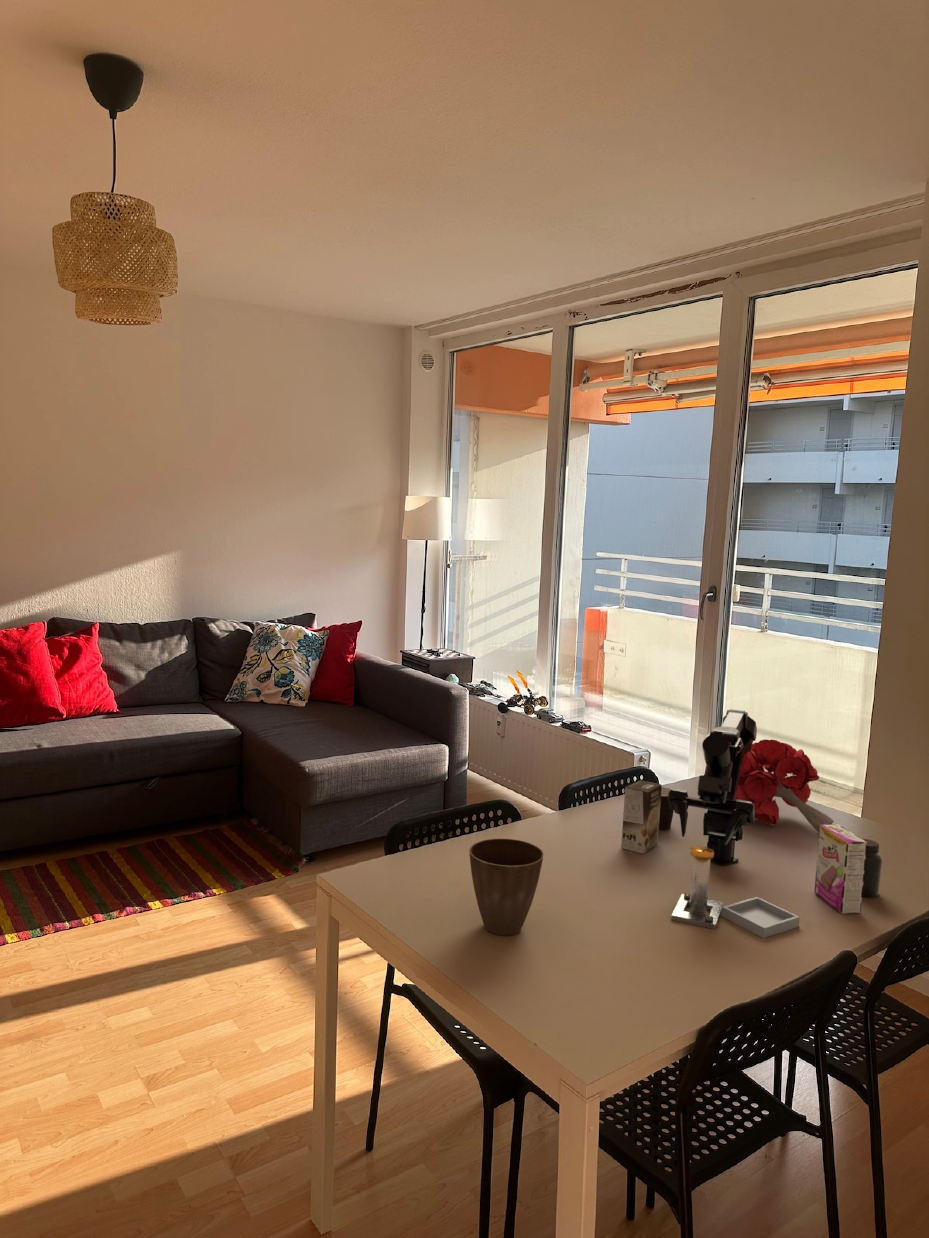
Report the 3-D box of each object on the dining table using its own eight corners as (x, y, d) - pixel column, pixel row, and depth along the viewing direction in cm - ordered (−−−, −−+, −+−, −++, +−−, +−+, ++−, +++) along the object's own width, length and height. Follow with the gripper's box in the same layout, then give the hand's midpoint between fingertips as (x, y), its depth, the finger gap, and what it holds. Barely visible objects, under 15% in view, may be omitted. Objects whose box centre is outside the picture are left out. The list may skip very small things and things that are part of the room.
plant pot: (467, 909, 188) (470, 836, 186) (537, 912, 188) (541, 839, 186) (465, 942, 173) (468, 863, 171) (541, 946, 173) (545, 867, 171)
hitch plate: (681, 898, 198) (682, 891, 197) (723, 906, 194) (723, 899, 194) (671, 919, 187) (671, 912, 186) (715, 929, 183) (715, 921, 183)
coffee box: (643, 854, 223) (647, 792, 221) (620, 848, 226) (624, 787, 224) (658, 844, 230) (662, 784, 228) (635, 838, 234) (639, 779, 232)
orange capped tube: (697, 906, 194) (701, 844, 192) (714, 915, 190) (718, 852, 188) (681, 910, 191) (685, 848, 189) (698, 919, 187) (702, 855, 185)
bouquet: (820, 842, 255) (736, 772, 270) (867, 783, 244) (778, 714, 258) (790, 867, 239) (703, 792, 254) (839, 806, 228) (745, 731, 243)
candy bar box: (812, 893, 203) (818, 823, 201) (832, 892, 204) (838, 823, 202) (840, 914, 192) (847, 841, 190) (861, 914, 193) (868, 841, 191)
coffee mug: (677, 832, 239) (680, 796, 238) (645, 831, 239) (648, 795, 238) (668, 817, 251) (670, 783, 250) (638, 816, 251) (640, 782, 250)
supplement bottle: (847, 895, 203) (851, 844, 201) (845, 883, 209) (849, 834, 208) (880, 900, 200) (885, 849, 199) (877, 889, 207) (882, 839, 205)
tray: (756, 905, 195) (757, 896, 195) (798, 926, 186) (799, 916, 186) (721, 916, 189) (722, 906, 189) (763, 937, 180) (764, 928, 180)
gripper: (672, 754, 203) (657, 815, 195) (757, 767, 195) (745, 831, 187) (677, 778, 211) (663, 838, 203) (759, 791, 203) (748, 854, 195)
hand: (703, 839), depth 196 cm, fingers open, 9 cm apart
